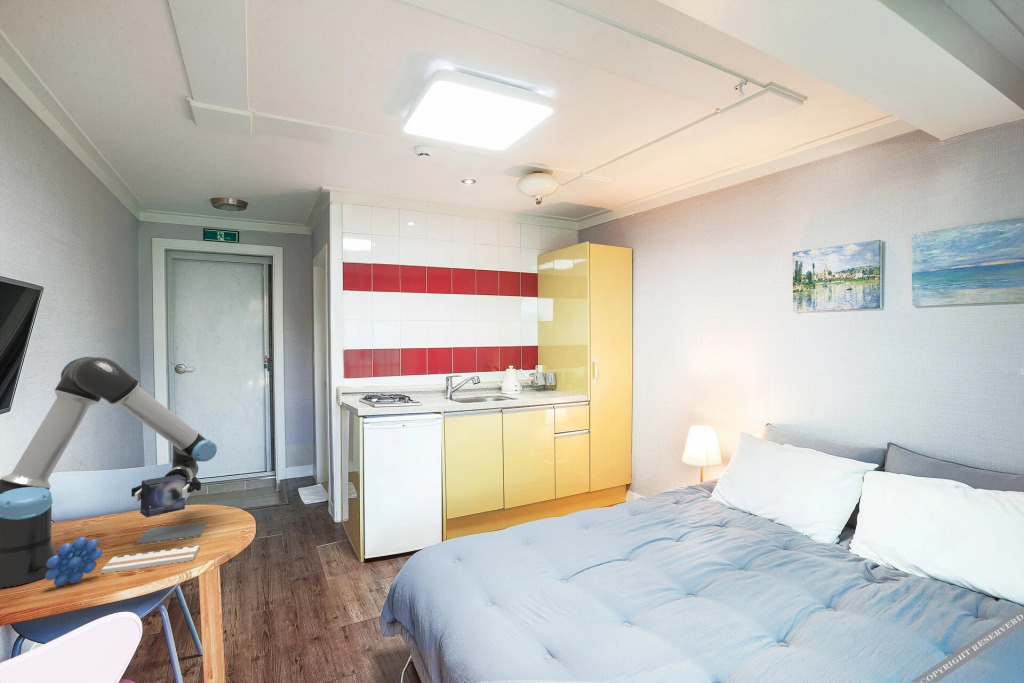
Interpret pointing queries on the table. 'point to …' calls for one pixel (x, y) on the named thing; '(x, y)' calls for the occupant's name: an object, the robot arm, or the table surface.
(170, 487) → the small box
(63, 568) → the blue bumpy cluster
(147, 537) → the mat
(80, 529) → the table surface
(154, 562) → the board
